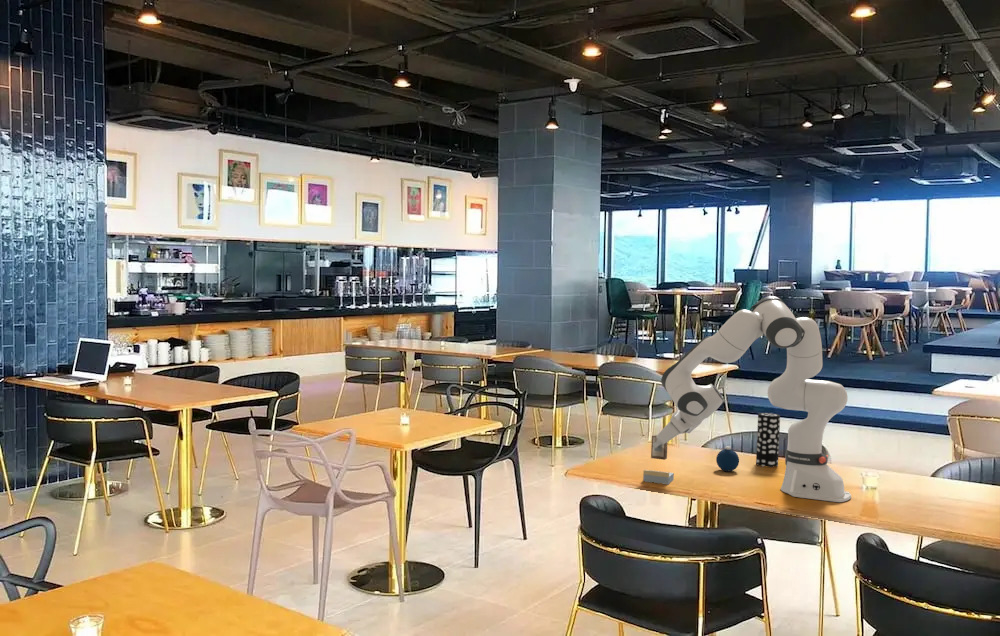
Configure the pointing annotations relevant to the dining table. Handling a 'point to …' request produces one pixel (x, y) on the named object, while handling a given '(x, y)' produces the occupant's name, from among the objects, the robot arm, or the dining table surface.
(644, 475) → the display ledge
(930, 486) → the dining table surface
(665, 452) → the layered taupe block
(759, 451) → the spotted tube
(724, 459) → the christmas ornament
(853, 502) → the dining table surface
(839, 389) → the robot arm
